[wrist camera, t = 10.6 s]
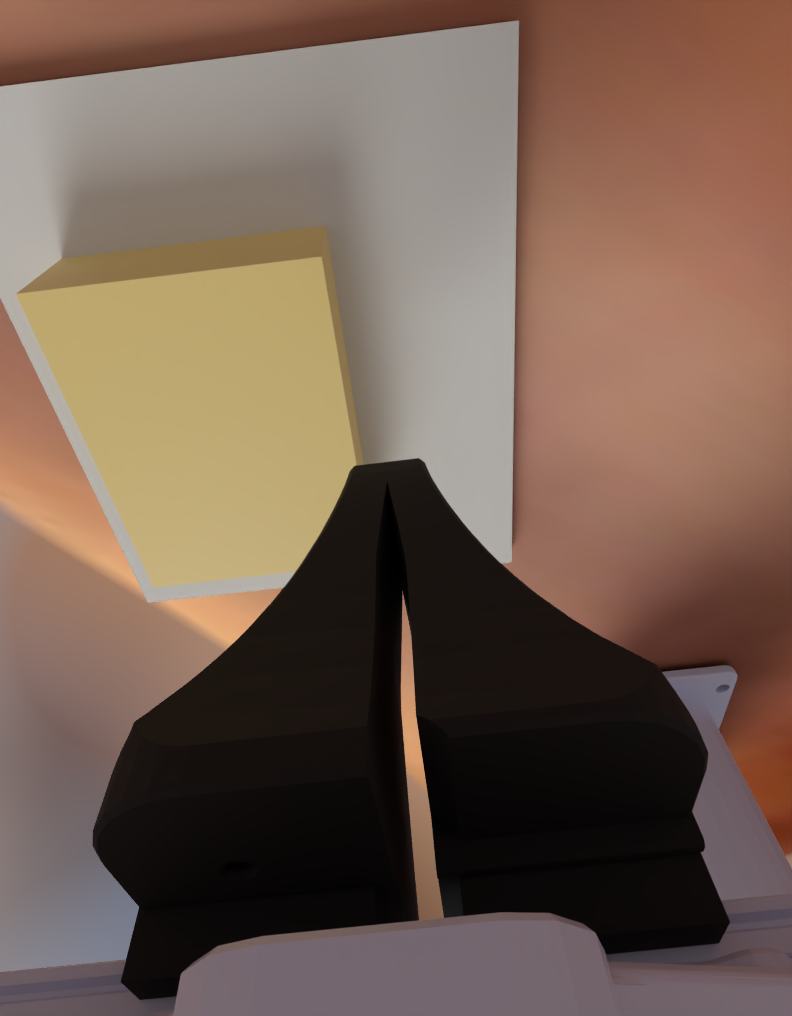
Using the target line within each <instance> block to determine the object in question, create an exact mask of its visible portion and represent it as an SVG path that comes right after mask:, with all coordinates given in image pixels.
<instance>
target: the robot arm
mask: <svg viewBox="0 0 792 1016" xmlns="http://www.w3.org/2000/svg"><path fill="white" fill-rule="evenodd" d="M402 590H403V595H404V600H405V605H406V610H407V615H408V620H409V625H410V630H411V636H412V651H413V667H414V684H415V701H416V717H417V723H418V730H419V737H420V744H421V751H422V757H423V764H424V771H425V778H426V784H427V791H428V798H429V805H430V811H431V819H432V828H433V839H434V850H435V860H436V870H437V877H438V879H439V887H440V893H441V900H442V906H443V913H444V918H439V919H429V920H419V916H418V905H417V894H416V883H415V872H414V861H413V850H412V838H411V827H410V814H409V803H408V791H407V778H406V766H405V754H404V741H403V728H402V716H401V642H402ZM737 678H738V675H737V673H736V672H735V670H734V669H733V667H731V666H728V665H721V666H712V667H702V668H693V669H684V670H674V671H665V672H662V671H661V670H660V669H659V667H658V666H657V665H656V664H654V663H652V662H650V661H648V660H646V659H644V658H642V657H640V656H638V655H636V654H634V653H632V652H630V651H628V650H626V649H625V648H623V647H621V646H619V645H617V644H615V643H613V642H611V641H609V640H607V639H605V638H603V637H601V636H599V635H598V634H596V633H594V632H593V631H591V630H589V629H588V628H586V627H584V626H583V625H581V624H579V623H578V622H576V621H574V620H573V619H571V618H570V617H568V616H567V615H566V614H564V613H563V612H561V611H560V610H559V609H557V608H556V607H554V606H553V605H552V604H550V603H549V602H547V601H546V600H545V599H543V598H542V597H540V596H539V595H537V594H536V593H535V592H534V591H532V590H531V589H530V588H529V587H528V586H526V585H525V584H524V583H523V582H522V581H520V580H519V579H518V578H517V577H515V576H514V575H513V574H512V573H511V572H510V571H509V570H508V569H507V568H506V567H504V566H503V565H502V564H501V563H500V562H499V561H498V560H497V559H496V558H495V557H494V556H493V555H492V554H491V553H490V552H489V551H488V550H487V549H486V548H485V547H484V546H483V545H482V544H481V543H480V541H479V540H478V539H477V538H476V537H475V536H474V535H473V534H472V533H471V531H470V530H469V529H468V528H467V527H466V525H465V524H464V523H463V522H462V521H461V519H460V518H459V517H458V515H457V514H456V513H455V511H454V510H453V509H452V508H451V506H450V505H449V504H448V502H447V501H446V499H445V498H444V496H443V495H442V493H441V492H440V490H439V489H438V487H437V486H436V484H435V482H434V481H433V479H432V477H431V475H430V473H429V471H428V469H427V467H426V464H425V462H423V461H422V460H421V459H420V458H415V459H407V460H399V461H390V462H382V463H373V464H365V465H356V466H354V467H353V468H352V469H351V470H350V472H349V475H348V478H347V480H346V483H345V485H344V488H343V490H342V492H341V495H340V497H339V499H338V501H337V503H336V505H335V507H334V509H333V511H332V513H331V515H330V517H329V518H328V520H327V522H326V524H325V526H324V528H323V530H322V531H321V533H320V535H319V537H318V538H317V540H316V541H315V543H314V545H313V546H312V548H311V549H310V551H309V552H308V554H307V555H306V557H305V559H304V560H303V562H302V563H301V565H300V566H299V568H298V569H297V570H296V572H295V573H294V575H293V576H292V577H291V579H290V580H289V581H288V583H287V584H286V585H285V587H284V588H283V589H282V590H281V592H280V593H279V594H278V595H277V597H276V598H275V599H274V600H273V602H272V603H271V604H270V605H269V606H268V607H267V608H266V609H265V611H264V612H263V613H262V614H261V615H260V616H259V617H258V618H257V619H256V621H255V622H254V623H253V624H252V625H251V626H250V627H249V628H248V629H247V630H246V631H245V632H244V633H243V634H242V635H241V636H240V637H239V638H238V639H237V640H236V641H235V642H234V643H233V644H232V645H231V646H230V647H229V648H228V649H227V650H226V651H224V652H223V653H222V654H221V655H220V656H219V657H218V658H217V659H216V660H214V661H213V662H212V663H211V664H210V665H209V666H207V667H206V668H205V669H204V670H203V671H202V672H200V673H199V674H198V675H197V676H196V677H194V678H193V679H192V680H191V681H189V682H188V683H187V684H186V685H184V686H183V687H182V688H180V689H179V690H177V691H176V692H175V693H174V694H172V695H171V696H169V697H168V698H167V699H165V700H164V701H163V702H161V703H160V704H159V705H157V706H156V707H155V708H153V709H152V710H151V711H150V712H148V713H147V714H145V715H144V716H142V717H141V718H139V719H138V720H136V721H135V722H134V724H133V727H132V729H131V732H130V734H129V736H128V738H127V740H126V742H125V744H124V747H123V748H122V750H121V752H120V755H119V757H118V760H117V762H116V765H115V767H114V770H113V773H112V775H111V778H110V781H109V784H108V787H107V790H106V793H105V796H104V799H103V802H102V805H101V808H100V811H99V814H98V817H97V820H96V823H95V826H94V829H93V847H94V849H95V851H96V853H97V855H98V856H99V858H100V860H101V862H102V863H103V864H104V866H105V867H106V868H107V869H108V871H109V872H110V873H111V874H112V875H113V877H114V878H115V879H116V880H117V881H118V882H119V884H120V885H121V886H122V887H123V888H124V890H125V891H126V892H127V893H128V894H129V895H130V897H131V898H132V899H133V900H134V901H135V902H136V904H137V905H138V906H139V910H138V914H137V918H136V922H135V927H134V931H133V934H132V939H131V942H130V947H129V950H128V955H127V958H126V960H118V961H108V962H98V963H87V964H77V965H67V966H58V967H47V968H37V969H27V970H17V971H8V972H0V1016H792V868H791V866H790V864H789V862H788V861H787V859H786V857H785V855H784V853H783V851H782V849H781V847H780V845H779V843H778V841H777V840H776V838H775V836H774V834H773V832H772V830H771V828H770V826H769V824H768V822H767V820H766V819H765V817H764V815H763V813H762V811H761V809H760V807H759V805H758V803H757V801H756V799H755V798H754V796H753V794H752V792H751V790H750V788H749V786H748V784H747V782H746V780H745V779H744V777H743V775H742V773H741V771H740V769H739V767H738V765H737V763H736V761H735V759H734V758H733V756H732V754H731V752H730V750H729V748H728V746H727V744H726V742H725V740H724V738H723V737H722V735H721V733H720V731H719V728H720V725H721V723H722V720H723V717H724V714H725V712H726V709H727V706H728V703H729V701H730V698H731V695H732V692H733V690H734V687H735V684H736V681H737Z"/></svg>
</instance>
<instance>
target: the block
mask: <svg viewBox="0 0 792 1016" xmlns="http://www.w3.org/2000/svg"><path fill="white" fill-rule="evenodd" d="M16 295H17V298H18V300H19V302H20V304H21V306H22V308H23V310H24V313H25V315H26V317H27V319H28V321H29V323H30V325H31V327H32V330H33V332H34V334H35V336H36V338H37V340H38V342H39V345H40V347H41V349H42V351H43V353H44V355H45V357H46V359H47V362H48V364H49V366H50V368H51V370H52V372H53V374H54V377H55V379H56V381H57V383H58V385H59V387H60V389H61V391H62V394H63V396H64V398H65V400H66V402H67V404H68V406H69V409H70V411H71V413H72V415H73V417H74V419H75V421H76V423H77V426H78V428H79V430H80V432H81V434H82V436H83V438H84V441H85V443H86V445H87V447H88V449H89V451H90V453H91V455H92V458H93V460H94V462H95V464H96V466H97V468H98V470H99V473H100V475H101V477H102V479H103V481H104V483H105V485H106V487H107V490H108V492H109V494H110V496H111V498H112V500H113V502H114V505H115V507H116V509H117V511H118V513H119V515H120V517H121V519H122V522H123V524H124V526H125V528H126V530H127V532H128V534H129V537H130V539H131V541H132V543H133V545H134V547H135V549H136V551H137V554H138V556H139V558H140V560H141V562H142V564H143V566H144V568H145V571H146V573H147V575H148V577H149V579H150V581H151V583H152V586H153V588H155V587H164V586H173V585H182V584H191V583H200V582H209V581H218V580H226V579H235V578H244V577H253V576H262V575H271V574H280V573H289V572H296V570H297V569H298V568H299V566H300V565H301V563H302V562H303V560H304V559H305V557H306V555H307V554H308V552H309V551H310V549H311V548H312V546H313V545H314V543H315V541H316V540H317V538H318V537H319V535H320V533H321V531H322V530H323V528H324V526H325V524H326V522H327V520H328V518H329V517H330V515H331V513H332V511H333V509H334V507H335V505H336V503H337V501H338V499H339V497H340V495H341V492H342V490H343V488H344V485H345V483H346V480H347V478H348V475H349V472H350V470H351V469H352V468H353V467H354V466H356V465H364V462H363V455H362V449H361V443H360V436H359V430H358V424H357V418H356V411H355V405H354V399H353V393H352V386H351V380H350V374H349V367H348V361H347V355H346V349H345V342H344V336H343V330H342V324H341V317H340V311H339V305H338V299H337V292H336V286H335V280H334V273H333V267H332V261H331V255H330V248H329V242H328V236H327V230H326V226H323V227H315V228H307V229H299V230H290V231H282V232H274V233H266V234H258V235H250V236H242V237H234V238H225V239H217V240H209V241H201V242H193V243H185V244H177V245H169V246H160V247H152V248H144V249H136V250H128V251H120V252H112V253H104V254H96V255H87V256H79V257H71V258H63V259H60V260H59V261H58V262H57V263H55V264H54V265H53V266H51V267H50V268H49V269H47V270H46V271H45V272H44V273H42V274H41V275H40V276H38V277H37V278H36V279H34V280H33V281H32V282H31V283H29V284H28V285H27V286H25V287H24V288H23V289H21V290H20V291H19V292H18V293H16Z"/></svg>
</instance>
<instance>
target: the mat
mask: <svg viewBox="0 0 792 1016" xmlns="http://www.w3.org/2000/svg"><path fill="white" fill-rule="evenodd" d="M518 56H519V21H509V22H501V23H494V24H486V25H478V26H470V27H462V28H454V29H446V30H439V31H431V32H423V33H415V34H407V35H399V36H392V37H384V38H376V39H368V40H360V41H352V42H344V43H337V44H329V45H321V46H313V47H305V48H297V49H289V50H282V51H274V52H266V53H258V54H250V55H242V56H234V57H227V58H219V59H211V60H203V61H195V62H187V63H180V64H172V65H164V66H156V67H148V68H140V69H132V70H125V71H117V72H109V73H101V74H93V75H85V76H77V77H70V78H62V79H54V80H46V81H38V82H30V83H22V84H15V85H7V86H0V298H1V300H2V303H3V305H4V307H5V309H6V311H7V313H8V315H9V317H10V319H11V321H12V323H13V325H14V327H15V329H16V331H17V333H18V336H19V338H20V340H21V342H22V344H23V346H24V348H25V350H26V352H27V354H28V356H29V358H30V360H31V362H32V364H33V366H34V369H35V371H36V373H37V375H38V377H39V379H40V381H41V383H42V385H43V387H44V389H45V391H46V393H47V395H48V397H49V400H50V402H51V404H52V406H53V408H54V410H55V412H56V414H57V416H58V418H59V420H60V422H61V424H62V426H63V428H64V430H65V433H66V435H67V437H68V439H69V441H70V443H71V445H72V447H73V449H74V451H75V453H76V455H77V457H78V459H79V461H80V464H81V466H82V468H83V470H84V472H85V474H86V476H87V478H88V480H89V482H90V484H91V486H92V488H93V490H94V492H95V494H96V497H97V499H98V501H99V503H100V505H101V507H102V509H103V511H104V513H105V515H106V517H107V519H108V521H109V523H110V525H111V527H112V530H113V532H114V534H115V536H116V538H117V540H118V542H119V544H120V546H121V548H122V550H123V552H124V554H125V556H126V558H127V561H128V563H129V565H130V567H131V569H132V571H133V573H134V575H135V577H136V579H137V581H138V583H139V585H140V587H141V589H142V591H143V594H144V596H145V598H146V600H147V602H148V603H150V602H159V601H168V600H177V599H186V598H195V597H204V596H213V595H221V594H230V593H239V592H248V591H257V590H266V589H275V588H284V587H285V585H286V584H287V583H288V581H289V580H290V579H291V577H292V576H293V575H294V573H295V572H289V573H280V574H271V575H262V576H253V577H244V578H235V579H226V580H218V581H209V582H200V583H191V584H182V585H173V586H164V587H155V588H153V586H152V583H151V581H150V579H149V577H148V575H147V573H146V571H145V568H144V566H143V564H142V562H141V560H140V558H139V556H138V554H137V551H136V549H135V547H134V545H133V543H132V541H131V539H130V537H129V534H128V532H127V530H126V528H125V526H124V524H123V522H122V519H121V517H120V515H119V513H118V511H117V509H116V507H115V505H114V502H113V500H112V498H111V496H110V494H109V492H108V490H107V487H106V485H105V483H104V481H103V479H102V477H101V475H100V473H99V470H98V468H97V466H96V464H95V462H94V460H93V458H92V455H91V453H90V451H89V449H88V447H87V445H86V443H85V441H84V438H83V436H82V434H81V432H80V430H79V428H78V426H77V423H76V421H75V419H74V417H73V415H72V413H71V411H70V409H69V406H68V404H67V402H66V400H65V398H64V396H63V394H62V391H61V389H60V387H59V385H58V383H57V381H56V379H55V377H54V374H53V372H52V370H51V368H50V366H49V364H48V362H47V359H46V357H45V355H44V353H43V351H42V349H41V347H40V345H39V342H38V340H37V338H36V336H35V334H34V332H33V330H32V327H31V325H30V323H29V321H28V319H27V317H26V315H25V313H24V310H23V308H22V306H21V304H20V302H19V300H18V298H17V295H16V293H18V292H19V291H20V290H21V289H23V288H24V287H25V286H27V285H28V284H29V283H31V282H32V281H33V280H34V279H36V278H37V277H38V276H40V275H41V274H42V273H44V272H45V271H46V270H47V269H49V268H50V267H51V266H53V265H54V264H55V263H57V262H58V261H59V260H60V259H63V258H71V257H79V256H87V255H96V254H104V253H112V252H120V251H128V250H136V249H144V248H152V247H160V246H169V245H177V244H185V243H193V242H201V241H209V240H217V239H225V238H234V237H242V236H250V235H258V234H266V233H274V232H282V231H290V230H299V229H307V228H315V227H323V226H326V230H327V236H328V242H329V248H330V255H331V261H332V267H333V273H334V280H335V286H336V292H337V299H338V305H339V311H340V317H341V324H342V330H343V336H344V342H345V349H346V355H347V361H348V367H349V374H350V380H351V386H352V393H353V399H354V405H355V411H356V418H357V424H358V430H359V436H360V443H361V449H362V455H363V462H364V465H365V464H373V463H382V462H390V461H399V460H407V459H415V458H420V459H421V460H422V461H423V462H425V464H426V467H427V469H428V471H429V473H430V475H431V477H432V479H433V481H434V482H435V484H436V486H437V487H438V489H439V490H440V492H441V493H442V495H443V496H444V498H445V499H446V501H447V502H448V504H449V505H450V506H451V508H452V509H453V510H454V511H455V513H456V514H457V515H458V517H459V518H460V519H461V521H462V522H463V523H464V524H465V525H466V527H467V528H468V529H469V530H470V531H471V533H472V534H473V535H474V536H475V537H476V538H477V539H478V540H479V541H480V543H481V544H482V545H483V546H484V547H485V548H486V549H487V550H488V551H489V552H490V553H491V554H492V555H493V556H494V557H495V558H496V559H497V560H498V561H499V562H500V563H509V562H512V495H513V422H514V349H515V275H516V202H517V129H518Z"/></svg>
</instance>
